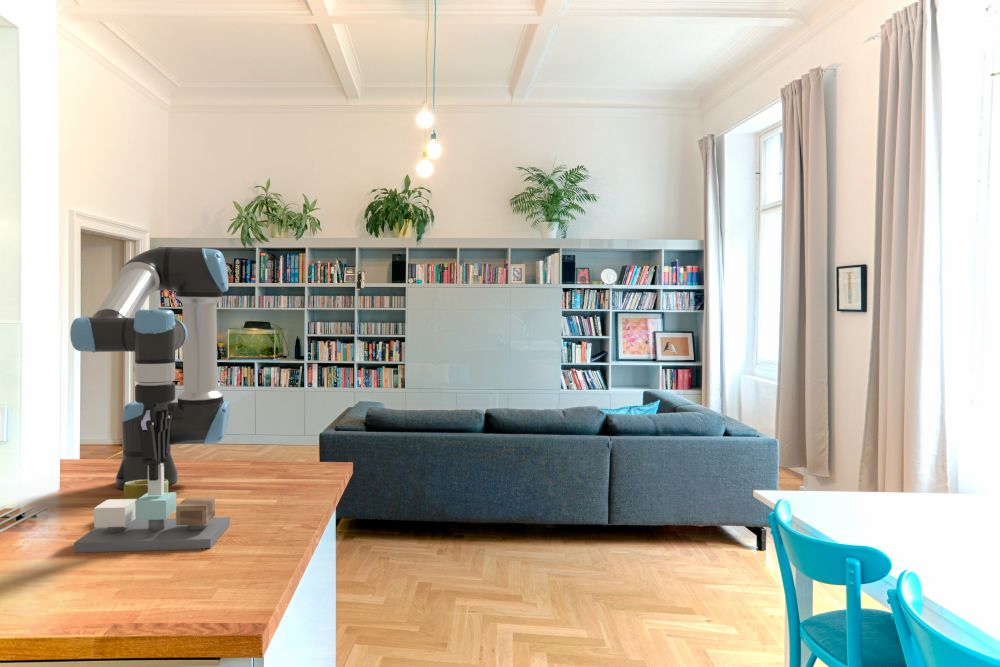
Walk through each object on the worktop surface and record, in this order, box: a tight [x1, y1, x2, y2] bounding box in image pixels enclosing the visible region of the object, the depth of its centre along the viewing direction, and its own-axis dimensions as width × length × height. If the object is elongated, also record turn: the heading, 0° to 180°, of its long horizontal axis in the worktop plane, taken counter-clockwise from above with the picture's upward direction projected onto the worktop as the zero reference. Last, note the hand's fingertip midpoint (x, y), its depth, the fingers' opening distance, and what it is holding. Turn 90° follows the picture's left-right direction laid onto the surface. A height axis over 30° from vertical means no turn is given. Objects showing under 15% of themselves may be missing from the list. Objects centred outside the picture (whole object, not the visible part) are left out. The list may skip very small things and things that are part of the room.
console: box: [73, 516, 231, 553], centre depth 142 cm, size 14×26×5 cm, turn 97°
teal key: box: [135, 491, 177, 520], centre depth 141 cm, size 6×6×4 cm
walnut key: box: [175, 496, 216, 525], centre depth 142 cm, size 6×6×4 cm
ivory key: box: [93, 498, 137, 528], centre depth 140 cm, size 6×6×4 cm
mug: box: [123, 479, 169, 499], centre depth 158 cm, size 12×10×10 cm
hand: (156, 494), depth 141 cm, fingers closed
